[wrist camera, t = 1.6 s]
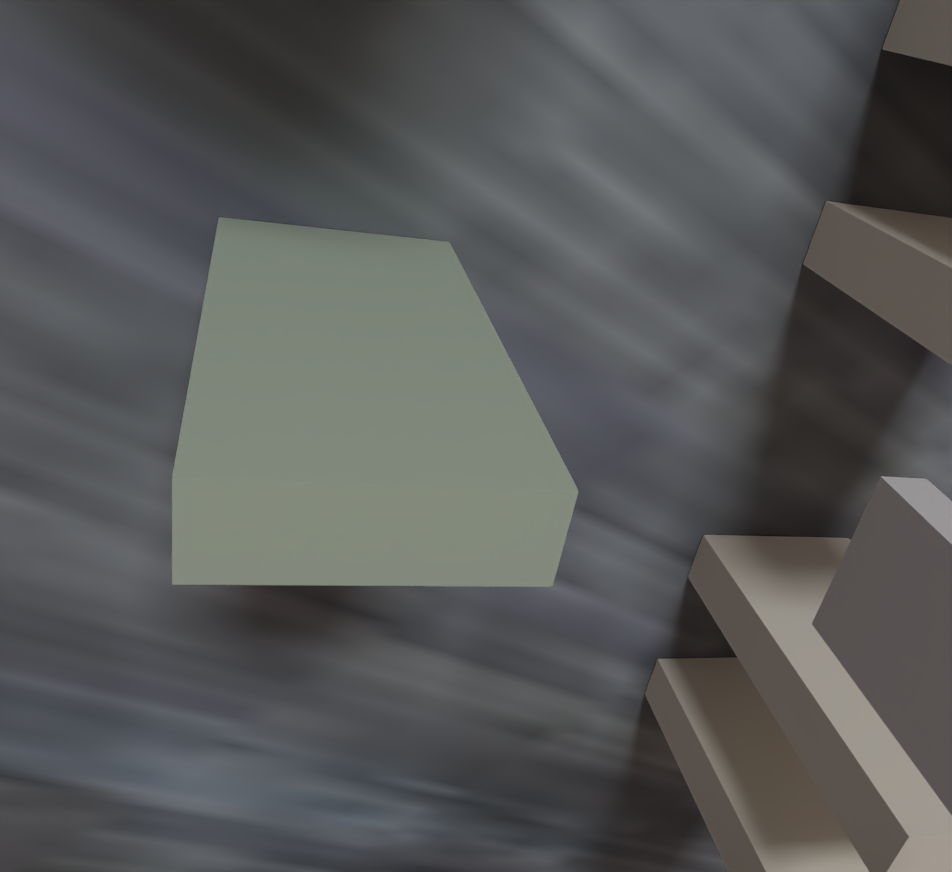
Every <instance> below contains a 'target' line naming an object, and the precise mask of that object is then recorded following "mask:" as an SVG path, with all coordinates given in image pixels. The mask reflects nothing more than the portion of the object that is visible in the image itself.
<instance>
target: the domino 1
mask: <svg viewBox="0 0 952 872" xmlns="http://www.w3.org/2000/svg"><path fill="white" fill-rule="evenodd" d="M577 495H578V489H577V487H576V485H575V483H574V481H573V479H572V477H571V476H570V474H569V472H568V470H567V468H566V466H565V464H564V462H563V460H562V458H561V456H560V454H559V452H558V450H557V449H556V447H555V445H554V443H553V441H552V439H551V437H550V435H549V433H548V431H547V429H546V427H545V425H544V423H543V422H542V420H541V418H540V416H539V414H538V412H537V410H536V408H535V406H534V404H533V402H532V400H531V398H530V396H529V395H528V393H527V391H526V389H525V387H524V385H523V383H522V381H521V379H520V377H519V375H518V373H517V371H516V370H515V368H514V366H513V364H512V362H511V360H510V358H509V356H508V354H507V352H506V350H505V348H504V346H503V344H502V343H501V341H500V339H499V337H498V335H497V333H496V331H495V329H494V327H493V325H492V323H491V321H490V319H489V317H488V316H487V314H486V312H485V310H484V308H483V306H482V304H481V302H480V300H479V298H478V296H477V294H476V292H475V290H474V289H473V287H472V285H471V283H470V281H469V279H468V277H467V275H466V273H465V271H464V269H463V267H462V265H461V264H460V262H459V260H458V258H457V256H456V254H455V252H454V250H453V248H452V246H451V244H450V242H446V241H436V240H427V239H418V238H409V237H399V236H390V235H381V234H372V233H362V232H353V231H344V230H335V229H325V228H316V227H307V226H297V225H288V224H279V223H270V222H260V221H251V220H242V219H233V218H223V217H219V219H218V224H217V230H216V236H215V241H214V247H213V252H212V258H211V263H210V269H209V275H208V280H207V286H206V291H205V297H204V302H203V308H202V314H201V319H200V325H199V330H198V336H197V341H196V347H195V353H194V358H193V364H192V369H191V375H190V381H189V386H188V392H187V397H186V403H185V408H184V414H183V420H182V425H181V431H180V436H179V442H178V447H177V453H176V459H175V464H174V470H173V475H172V585H333V586H512V587H552V586H553V583H554V579H555V575H556V572H557V568H558V564H559V561H560V557H561V554H562V550H563V546H564V543H565V539H566V535H567V532H568V528H569V524H570V521H571V517H572V513H573V510H574V506H575V502H576V499H577Z"/></svg>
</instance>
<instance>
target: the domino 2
mask: <svg viewBox="0 0 952 872" xmlns="http://www.w3.org/2000/svg"><path fill="white" fill-rule="evenodd" d="M645 696H646V698H647V700H648V702H649V705H650V707H651V709H652V711H653V713H654V715H655V717H656V720H657V722H658V724H659V726H660V728H661V730H662V732H663V734H664V737H665V739H666V741H667V743H668V745H669V747H670V749H671V751H672V754H673V756H674V758H675V760H676V762H677V764H678V766H679V768H680V771H681V773H682V775H683V777H684V779H685V781H686V783H687V785H688V788H689V790H690V792H691V794H692V796H693V798H694V800H695V803H696V805H697V807H698V809H699V811H700V813H701V815H702V817H703V820H704V822H705V824H706V826H707V828H708V830H709V832H710V834H711V837H712V839H713V841H714V843H715V845H716V847H717V849H718V851H719V854H720V856H721V858H722V860H723V862H724V864H725V866H726V869H727V871H728V872H869V871H868V869H867V867H866V866H865V864H864V862H863V861H862V859H861V858H860V856H859V854H858V853H857V851H856V849H855V848H854V846H853V845H852V843H851V841H850V840H849V838H848V836H847V835H846V833H845V832H844V830H843V828H842V827H841V825H840V823H839V822H838V820H837V819H836V817H835V815H834V814H833V812H832V810H831V809H830V807H829V806H828V804H827V802H826V801H825V799H824V797H823V796H822V794H821V793H820V791H819V789H818V788H817V786H816V784H815V783H814V781H813V780H812V778H811V776H810V775H809V773H808V771H807V770H806V768H805V767H804V765H803V763H802V762H801V760H800V758H799V757H798V755H797V754H796V752H795V750H794V749H793V747H792V745H791V744H790V742H789V741H788V739H787V737H786V736H785V734H784V732H783V731H782V729H781V728H780V726H779V724H778V723H777V721H776V719H775V718H774V716H773V715H772V713H771V711H770V710H769V708H768V706H767V705H766V703H765V702H764V700H763V698H762V697H761V695H760V693H759V692H758V690H757V689H756V687H755V685H754V684H753V682H752V680H751V679H750V677H749V676H748V674H747V672H746V671H745V669H744V667H743V666H742V664H741V663H740V661H739V659H738V658H737V657H729V658H673V659H657V662H656V664H655V667H654V670H653V673H652V675H651V678H650V681H649V683H648V686H647V689H646V692H645Z"/></svg>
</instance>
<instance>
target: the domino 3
mask: <svg viewBox="0 0 952 872" xmlns="http://www.w3.org/2000/svg"><path fill="white" fill-rule="evenodd" d="M803 265H805V266H806V267H808V268H809V269H810V270H812V271H813V272H815V273H816V274H818V275H819V276H821V277H822V278H824V279H825V280H827V281H828V282H830V283H831V284H833V285H834V286H836V287H837V288H838V289H840V290H841V291H843V292H844V293H846V294H847V295H849V296H850V297H852V298H853V299H855V300H856V301H858V302H859V303H861V304H862V305H863V306H865V307H866V308H868V309H869V310H871V311H872V312H874V313H875V314H877V315H878V316H880V317H881V318H883V319H884V320H886V321H887V322H888V323H890V324H891V325H893V326H894V327H896V328H897V329H899V330H900V331H902V332H903V333H905V334H906V335H908V336H909V337H911V338H912V339H913V340H915V341H916V342H918V343H919V344H921V345H922V346H924V347H925V348H927V349H928V350H930V351H931V352H933V353H934V354H936V355H937V356H939V357H940V358H941V359H943V360H944V361H946V362H947V363H949V364H950V365H952V218H949V217H942V216H934V215H927V214H919V213H912V212H905V211H897V210H890V209H882V208H875V207H868V206H860V205H853V204H845V203H838V202H831V201H826V202H825V205H824V208H823V211H822V213H821V216H820V219H819V221H818V224H817V227H816V230H815V232H814V235H813V238H812V240H811V243H810V246H809V249H808V251H807V254H806V257H805V260H804V262H803Z"/></svg>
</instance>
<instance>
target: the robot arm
mask: <svg viewBox="0 0 952 872" xmlns="http://www.w3.org/2000/svg"><path fill="white" fill-rule="evenodd" d="M812 625H813V626H814V628H815V629H816V630H817V632H818V633H819V634H820V636H821V637H822V638H823V640H824V641H825V643H826V644H827V645H828V647H829V648H830V649H831V651H832V652H833V654H834V655H835V656H836V658H837V659H838V660H839V662H840V663H841V665H842V666H843V667H844V669H845V670H846V671H847V673H848V674H849V676H850V677H851V678H852V680H853V681H854V682H855V684H856V685H857V686H858V688H859V689H860V691H861V692H862V693H863V695H864V696H865V697H866V699H867V700H868V702H869V703H870V704H871V706H872V707H873V708H874V710H875V711H876V713H877V714H878V715H879V717H880V718H881V719H882V721H883V722H884V724H885V725H886V726H887V728H888V729H889V730H890V732H891V733H892V734H893V736H894V737H895V739H896V740H897V741H898V743H899V744H900V745H901V747H902V748H903V750H904V751H905V752H906V754H907V755H908V756H909V758H910V759H911V761H912V762H913V763H914V765H915V766H916V767H917V769H918V770H919V771H920V773H921V774H922V776H923V777H924V778H925V780H926V781H927V782H928V784H929V785H930V787H931V788H932V789H933V791H934V792H935V793H936V795H937V796H938V798H939V799H940V800H941V802H942V803H943V804H944V806H945V807H946V809H947V810H948V811H949V813H950V814H951V815H952V501H951V500H950V499H948V498H947V497H946V496H945V495H944V494H943V493H942V492H941V491H940V490H938V489H937V488H936V487H935V486H934V485H933V484H932V483H931V482H929V481H928V480H927V479H920V478H902V477H883V476H881V477H880V479H879V481H878V483H877V485H876V488H875V490H874V492H873V494H872V496H871V498H870V500H869V502H868V505H867V507H866V509H865V511H864V513H863V515H862V517H861V520H860V522H859V524H858V526H857V528H856V530H855V532H854V534H853V537H852V539H851V541H850V543H849V545H848V547H847V549H846V552H845V554H844V556H843V558H842V560H841V562H840V564H839V566H838V569H837V571H836V573H835V575H834V577H833V579H832V581H831V584H830V586H829V588H828V590H827V592H826V594H825V596H824V599H823V601H822V603H821V605H820V607H819V609H818V611H817V613H816V616H815V618H814V620H813V622H812Z"/></svg>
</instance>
